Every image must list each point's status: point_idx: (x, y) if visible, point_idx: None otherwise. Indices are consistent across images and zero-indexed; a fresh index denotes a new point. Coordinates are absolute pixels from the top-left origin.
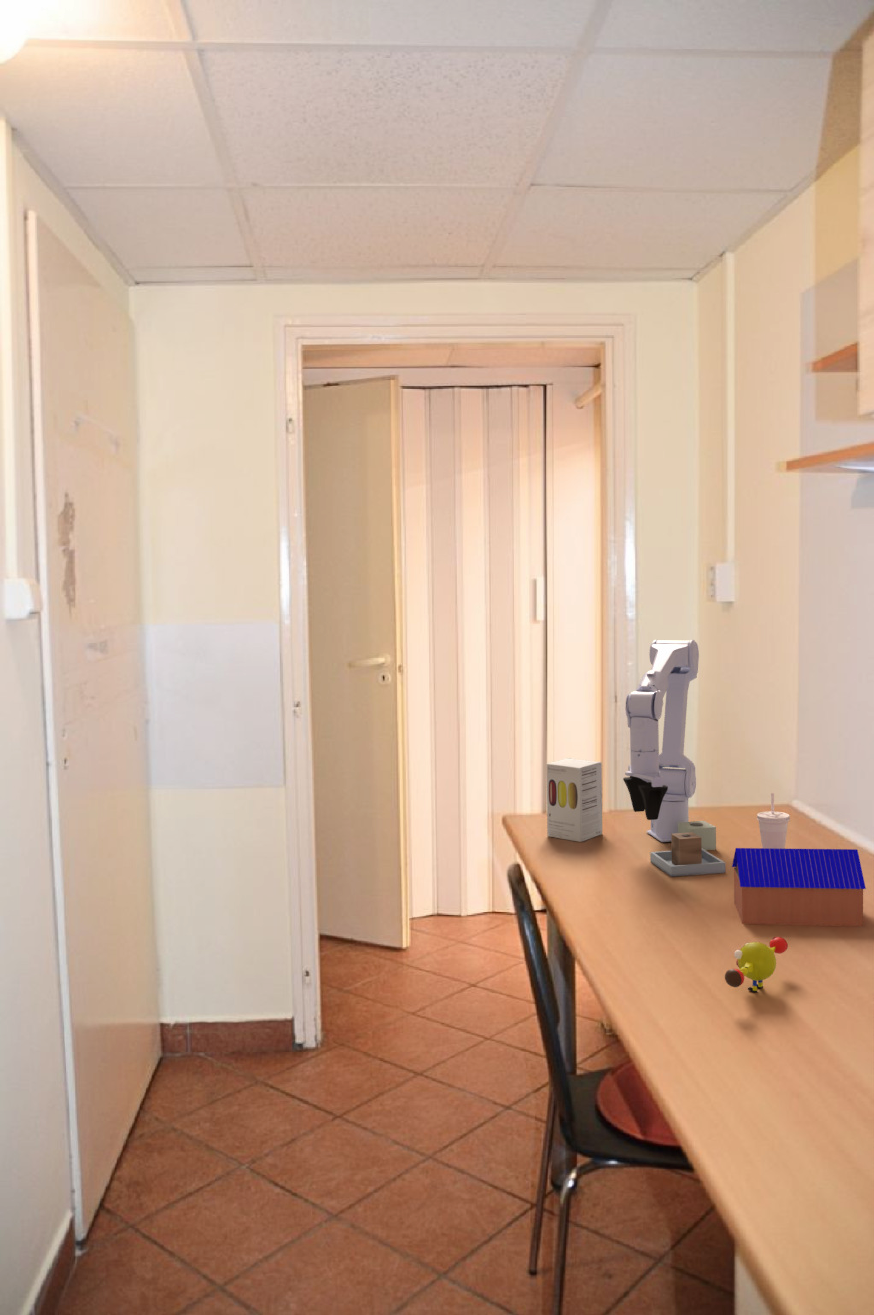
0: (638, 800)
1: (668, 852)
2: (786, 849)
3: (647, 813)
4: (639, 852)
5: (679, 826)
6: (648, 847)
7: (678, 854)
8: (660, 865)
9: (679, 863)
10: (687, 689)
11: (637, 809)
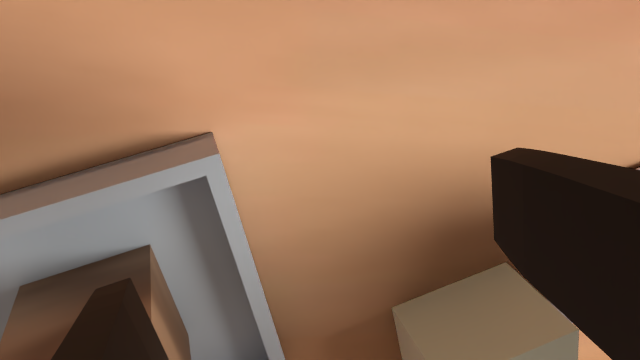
0: (581, 252)
1: (231, 249)
2: None
3: (68, 341)
4: (414, 83)
5: (549, 327)
6: (495, 135)
7: (27, 330)
8: (42, 190)
9: (23, 301)
10: None
11: (507, 190)
